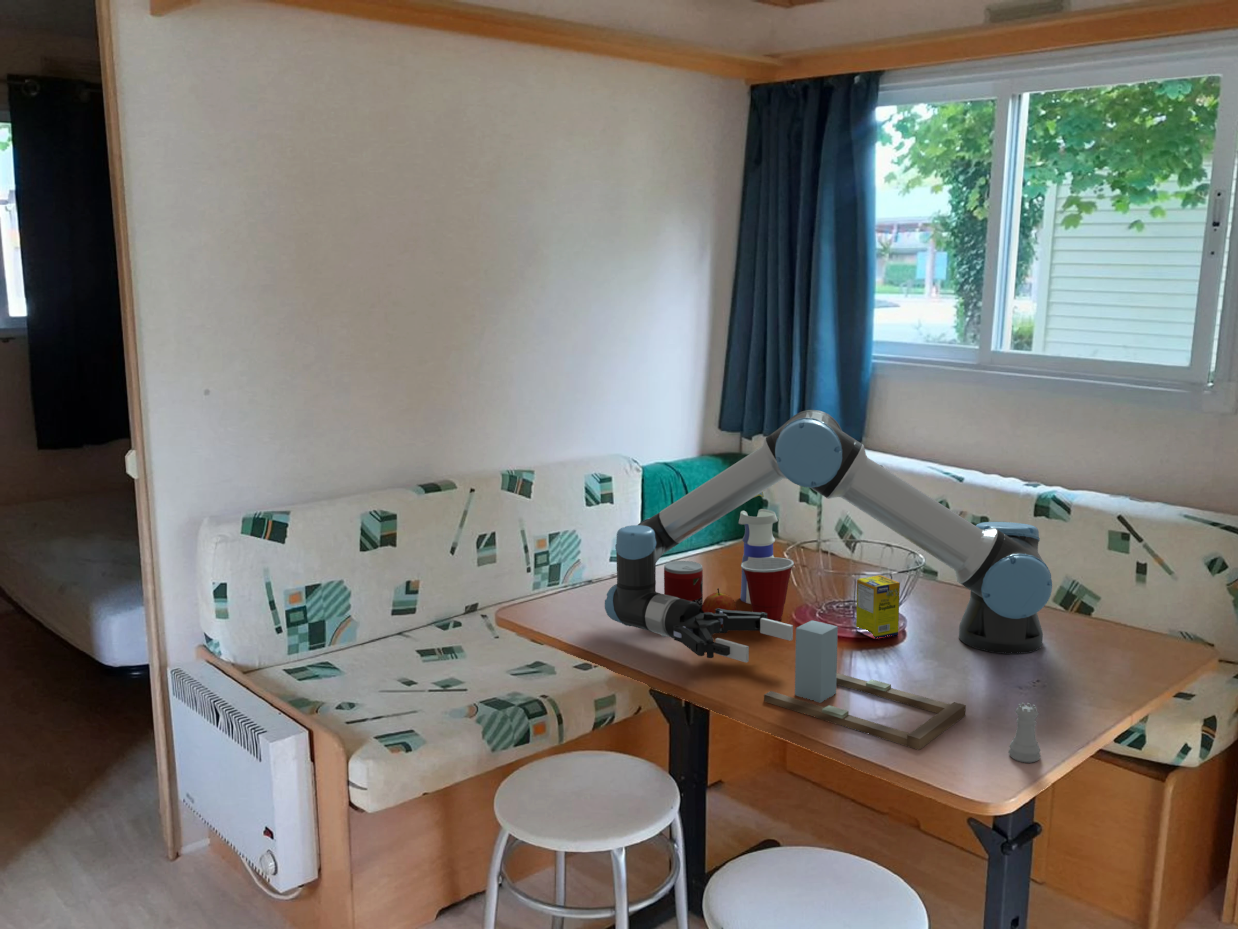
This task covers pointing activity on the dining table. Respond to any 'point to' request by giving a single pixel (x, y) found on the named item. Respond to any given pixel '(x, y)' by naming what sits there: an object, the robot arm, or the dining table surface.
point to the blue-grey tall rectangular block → (816, 661)
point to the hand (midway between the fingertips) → (770, 643)
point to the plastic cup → (768, 584)
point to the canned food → (684, 580)
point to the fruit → (718, 603)
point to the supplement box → (878, 605)
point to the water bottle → (756, 541)
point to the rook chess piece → (1025, 735)
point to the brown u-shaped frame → (915, 739)
